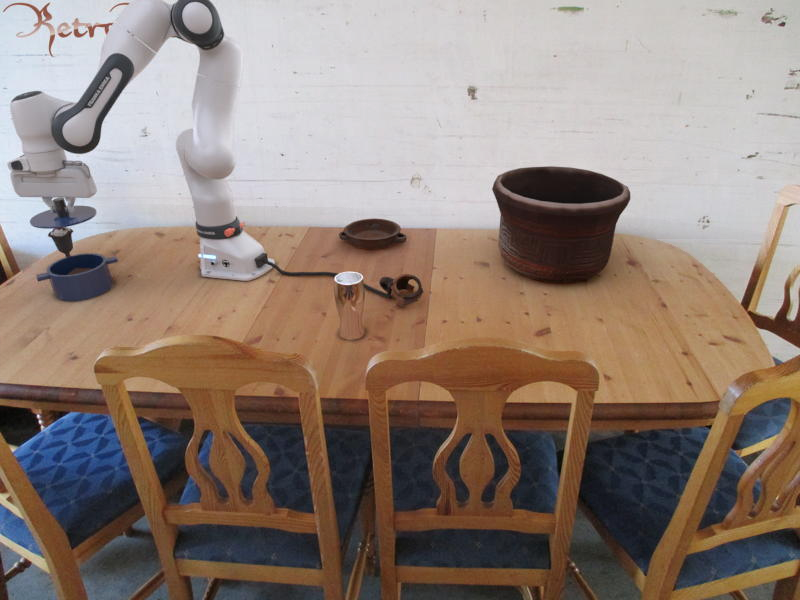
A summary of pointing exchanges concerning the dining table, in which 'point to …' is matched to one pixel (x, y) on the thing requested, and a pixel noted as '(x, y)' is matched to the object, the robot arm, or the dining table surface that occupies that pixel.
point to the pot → (80, 276)
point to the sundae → (62, 239)
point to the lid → (62, 216)
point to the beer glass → (350, 304)
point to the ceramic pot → (558, 221)
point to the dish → (373, 233)
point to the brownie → (79, 270)
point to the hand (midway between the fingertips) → (63, 212)
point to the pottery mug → (402, 288)
